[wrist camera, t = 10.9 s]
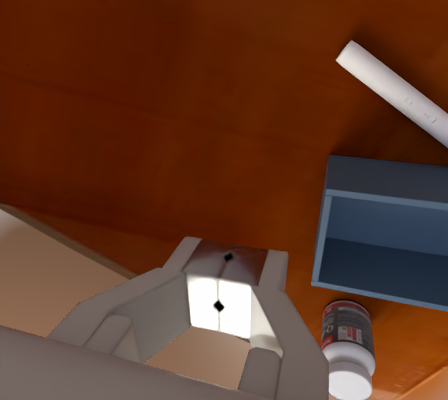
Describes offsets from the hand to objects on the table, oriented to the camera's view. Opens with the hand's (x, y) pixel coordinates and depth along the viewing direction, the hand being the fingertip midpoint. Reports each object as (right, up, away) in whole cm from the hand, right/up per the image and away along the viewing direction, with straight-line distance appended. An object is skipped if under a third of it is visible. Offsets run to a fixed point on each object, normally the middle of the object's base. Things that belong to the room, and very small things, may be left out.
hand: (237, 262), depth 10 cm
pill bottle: (+15, -13, +34) cm, 39 cm away
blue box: (+20, +1, +25) cm, 32 cm away
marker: (+18, +10, +21) cm, 29 cm away
